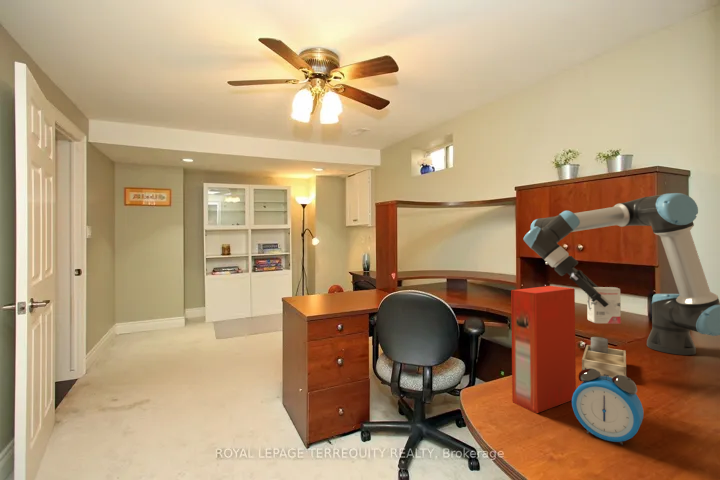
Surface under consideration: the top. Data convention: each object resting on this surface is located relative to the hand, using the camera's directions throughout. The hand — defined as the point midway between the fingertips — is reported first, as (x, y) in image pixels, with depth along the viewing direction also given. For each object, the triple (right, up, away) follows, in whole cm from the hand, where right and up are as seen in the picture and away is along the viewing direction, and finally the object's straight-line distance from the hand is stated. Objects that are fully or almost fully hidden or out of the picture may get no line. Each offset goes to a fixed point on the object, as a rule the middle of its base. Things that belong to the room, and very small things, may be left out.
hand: (615, 311), depth 118 cm
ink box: (-3, -4, +2) cm, 6 cm away
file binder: (-34, -22, -18) cm, 44 cm away
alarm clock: (-28, -22, -36) cm, 51 cm away
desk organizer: (0, -22, +5) cm, 22 cm away
